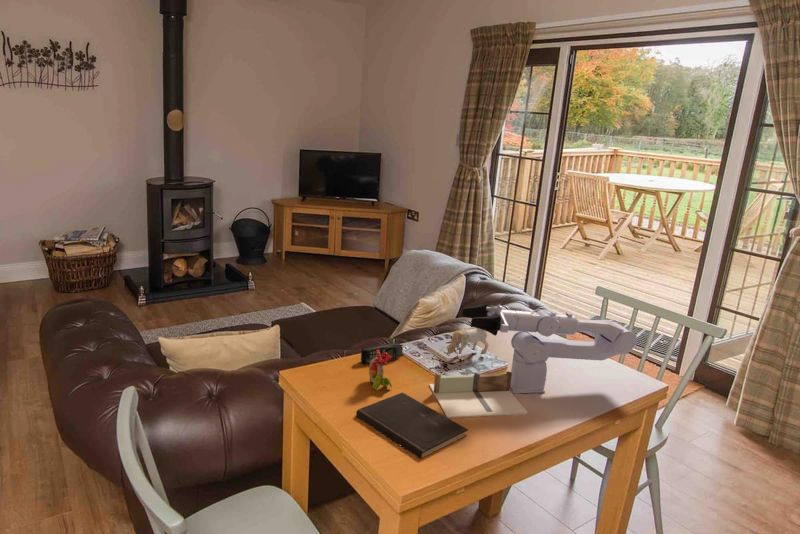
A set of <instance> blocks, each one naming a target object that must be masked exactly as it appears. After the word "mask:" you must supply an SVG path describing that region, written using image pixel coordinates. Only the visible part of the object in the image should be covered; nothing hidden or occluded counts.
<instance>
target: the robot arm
mask: <svg viewBox="0 0 800 534" xmlns="http://www.w3.org/2000/svg"><path fill="white" fill-rule="evenodd" d="M461 316H462V317H465V318H468V319H471V320H470V326H471V327H472V328H473V327H476V328H479V329H482V330H485V331H487V333H490V334H491V335H493V336H497V335H498V332H500V333H508V332H509V331H511V332H515V333H514V334H513V336H512V337H511V341H510V343H511V347H512V348H513V349H514V350H513V354H512V363H511V370H510V372H511V373H512V377H511V385H510V391H512V392H513V393H514V394H527V393H528V394H532V393H534V394H535V393H545V392H546V390H545V385H546V379H547V373H548V369H547V368H548V367H547V360H548V359H549V358H555V359H556V358H557V359H571V360H572V359H573V360H588V361H589V360H590V361H605V360H608V359H611V358H613V357H615V356H618V355H628V354H629V353H630V352H631V351H632V350H633V349H634V348H635V347H636V345H637V342H638V337H637V334H636V333H635V332H634V331H631V330H629V329H627V328H626V327H624V326H623V325H621V324H620V323H619V322H618V321H616V320H612V319H611V320H609V319H608V318H607V319H602V320H601V319H578V318H577V316H576V315H574V314H572V313H571V312H566V313H565V314H563V313H562V314H561V313H556V312H554V311H550V313H547V312H546V311H545V310H541V309H540V308H539V309H535V310H533V311H528V310H527V311H526V310H517V309H504V308H503V306H502V305H501V304H497V305H496V307H490V306H488V303H486V302H482V303H480V304H478V305H474V306H468V307H467V306H466V307H463V308H462V311H461ZM577 332H580V333H587V334H594V335H595V334H596V336H595V337H594V339H593V341H587V340H586V341H585V340H572V339H557V338H548V337H551V336H553V335H566V336H574V335H575V334H576V333H577ZM531 333H539V335H537V334H531ZM540 335H541V336H540ZM542 336H544V337H542ZM545 337H547V338H545Z"/></svg>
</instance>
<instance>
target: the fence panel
mask: <svg viewBox="0 0 800 534" xmlns="http://www.w3.org/2000/svg"><path fill="white" fill-rule="evenodd" d="M473 381H474V374H464V375H462V374H461V375H458V374H457V375H442V374H441V373H440V372H439V373H438V372H436V373H435V374H434V382H433V384H434V392H435V393H442V392H468V391H472V389H473Z"/></svg>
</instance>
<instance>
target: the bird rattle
mask: <svg viewBox="0 0 800 534" xmlns="http://www.w3.org/2000/svg"><path fill="white" fill-rule="evenodd" d="M376 353H377V355H378V358H373V359H372V360H371V362H370V363H369V367H368V375H369V382H370V383H372V389H374V390H375V391H378V389H379V388H380V386H383V387H388V386H389V387H390V388H392V387H393V386H392V383H391V380H390V379H389V378H388V377H384V371H385V367H384V366H388V363H387V362H389V361H390V360H389V359H390V358H391V357H392V356H390V355H388V354H387V352H384V353H383V354H382V355H381V354H380V352H379V349H377V351H376Z"/></svg>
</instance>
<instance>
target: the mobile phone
mask: <svg viewBox="0 0 800 534" xmlns="http://www.w3.org/2000/svg"><path fill="white" fill-rule="evenodd" d="M377 349H379V352H380V354H381V355H382V354H383V353H384V352H387V354H388V355H390V356H392V357H391V358H390V359H389V360H388V361H393V360H396V359H398V358H400V357H401V356H404V355H405V353H404V352H403V346H402V345H401V343H399V342H394V343H384V344H383V343H382V344H378V345H377V344H376V345H372V346H367V347H363V348H362V349H361V353H360V354H361V355H360V363H362V364H364V365H365V364H366V365H367V364H370V362H371V360H372V359H373V358H378V355H377V353H376V351H377ZM403 353H404V354H403Z"/></svg>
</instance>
